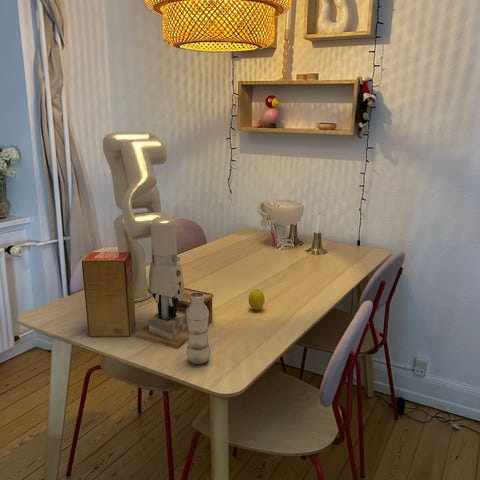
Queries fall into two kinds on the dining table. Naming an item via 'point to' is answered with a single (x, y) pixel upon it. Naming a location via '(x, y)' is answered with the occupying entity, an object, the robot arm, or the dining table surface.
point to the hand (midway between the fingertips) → (167, 314)
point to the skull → (280, 218)
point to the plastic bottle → (197, 329)
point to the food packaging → (109, 293)
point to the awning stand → (173, 323)
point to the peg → (165, 307)
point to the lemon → (256, 299)
